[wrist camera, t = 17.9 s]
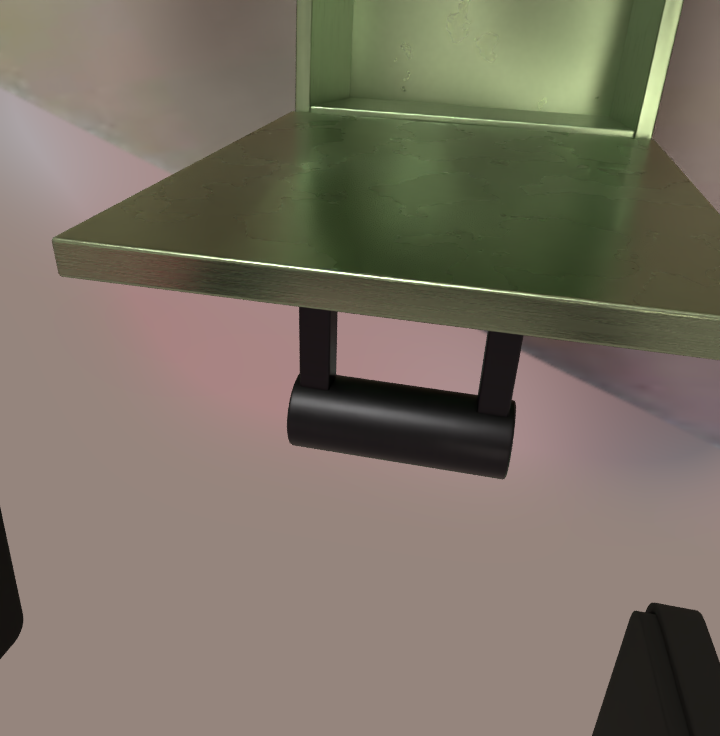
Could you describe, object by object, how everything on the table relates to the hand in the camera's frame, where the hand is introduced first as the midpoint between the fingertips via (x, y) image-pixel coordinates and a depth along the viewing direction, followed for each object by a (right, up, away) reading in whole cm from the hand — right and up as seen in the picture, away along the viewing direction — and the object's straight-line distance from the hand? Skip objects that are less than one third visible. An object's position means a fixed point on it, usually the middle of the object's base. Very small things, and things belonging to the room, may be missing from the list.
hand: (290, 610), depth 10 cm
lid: (+3, +9, +8) cm, 12 cm away
